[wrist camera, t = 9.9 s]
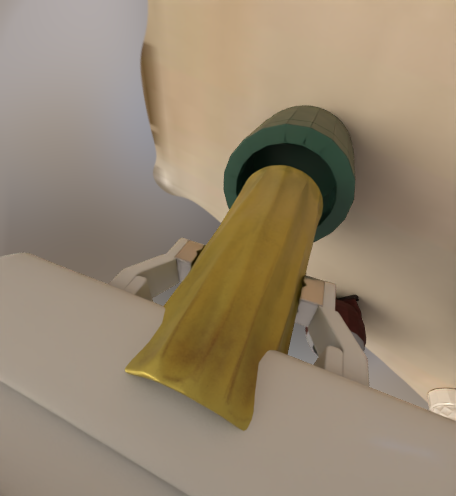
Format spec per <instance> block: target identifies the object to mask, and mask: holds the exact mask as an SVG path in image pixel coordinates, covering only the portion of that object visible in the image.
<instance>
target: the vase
mask: <svg viewBox="0 0 456 496" xmlns="http://www.w3.org/2000/svg"><path fill="white" fill-rule="evenodd" d="M322 210H323V198H322V194H321V192H320V189H319V187H318V186H317V184H316V183H315V182H314V180H313V179H312V178H311V177H310V176H309V175H307V174H306V173H304V172H303V171H301V170H298V169H296V168H293V167H291V166H286V165H272V166H267V167H264V168H262V169H260V170H258V171H256V172H255V173H253V174H252V175H251V176H250V177H249V178H248V179H247V181H246V183H245V185H244V186H243V188H242V190H241V192H240V194H239V195H238V197H237V198H236V200H235V202H234V203H233V205H232V207H231V208H230V210H229V212H228V213H227V215H226V217H225V218H224V220H223V221H222V223H221V225H220V226H219V228H218V229H217V231H216V232H215V233H214V235H213V236H212V238H211V239H210V241H209V242H208V243H207V245H206V246H205V247H204V249H203V250H202V252H201V253H200V255H199V256H198V258H197V260H196V261H195V263H194V265H193V267H192V268H191V270H190V271H189V273H188V275H187V276H186V277H185V279H184V280H183V281H182V283H181V284H180V285H179V287H178V288H177V289H176V290H175V292H174V293H173V295H172V296H171V297H170V298H169V300H168V301H167V302H166V304H165V305H164V306H163V307H164V308H165V313H164V317H163V321H162V324H161V325H160V327H159V328H158V330H157V331H156V333H155V334H154V335H153V337H152V338H151V340H150V341H149V342H148V343H147V344H146V346H145V347H144V348H143V349H142V350H141V351H140V352H139V353H138V354H137V355H136V356H135V357H134V358H133V359H132V360H131V362H129V364H128V365H127V366H126V368H125V372H126V373H128V374H131V375H135V376H139V377H143V378H147V379H150V380H152V381H155V382H157V383H160V384H162V385H164V386H167V387H169V388H171V389H173V390H175V391H177V392H179V393H181V394H183V395H185V396H187V397H189V398H190V399H192V400H194V401H196V402H197V403H199V404H201V405H202V406H204V407H206V408H208V409H209V410H211V411H213V412H214V413H216V414H218V415H220V416H221V417H222V418H224V419H225V420H227V421H228V422H230V423H231V424H233V425H234V426H236V427H237V428H238V429H241V430H243V431H245V430H247V428H248V427H249V424H250V422H251V420H252V416H253V412H254V402H255V389H256V381H257V373H258V365H259V362H260V360H261V359H262V358H263V356H264V355H265V354H266V352H267V351H269V350H275V351H279V352H281V353H284V354H287V355H288V350H289V345H290V340H291V336H292V331H293V327H294V323H295V318H296V314H297V310H298V305H299V303H298V301H299V296H300V291H301V289H302V288H303V286H302V282H303V277H304V275H306V270H307V265H308V261H309V257H310V253H311V250H312V245H313V241H314V237H315V233H316V229H317V225H318V222H319V220H320V218H321V216H322Z"/></svg>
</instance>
